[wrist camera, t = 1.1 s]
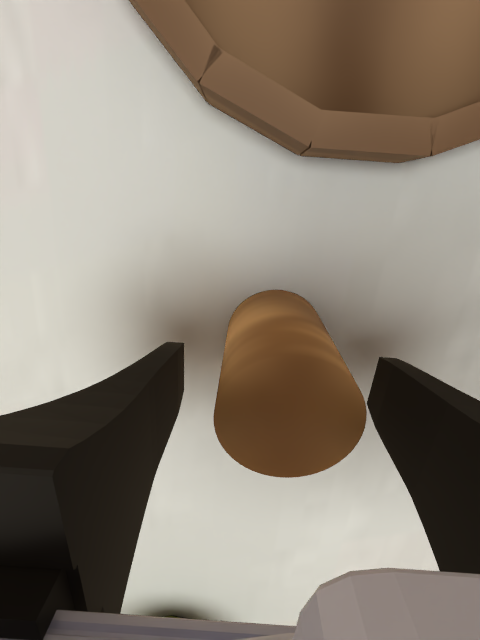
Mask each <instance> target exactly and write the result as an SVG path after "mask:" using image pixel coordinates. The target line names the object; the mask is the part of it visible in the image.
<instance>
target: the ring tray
mask: <svg viewBox="0 0 480 640" xmlns="http://www.w3.org/2000/svg"><path fill="white" fill-rule="evenodd" d="M129 1H130V2H131V4H132V5H133V6H134V8H135V9H136V10H137V12H138V13H139V14H140V16H141V17H142V18H143V19H144V21H145V22H146V23H147V25H148V26H149V27H150V29H151V30H152V31H153V32H154V34H155V35H156V36H157V38H158V39H159V40H160V42H161V43H162V44H163V45H164V47H165V48H166V49H167V51H168V52H169V53H170V55H171V56H172V57H173V59H174V60H175V61H176V62H177V64H178V65H179V66H180V68H181V69H182V70H183V72H184V73H185V74H186V75H187V77H188V78H189V79H190V81H191V82H192V83H193V85H194V86H195V87H196V88H197V90H198V91H199V92H200V94H201V95H202V96H203V98H204V99H205V100H206V102H208V103H209V104H210V105H212V106H213V107H215V108H217V109H219V110H220V111H222V112H224V113H226V114H227V115H229V116H231V117H233V118H234V119H236V120H238V121H240V122H241V123H243V124H245V125H247V126H248V127H250V128H252V129H254V130H255V131H257V132H259V133H260V134H262V135H264V136H266V137H267V138H269V139H271V140H273V141H274V142H276V143H278V144H280V145H281V146H283V147H285V148H287V149H288V150H290V151H292V152H294V153H295V154H297V155H299V154H300V156H310V157H324V158H338V159H352V160H365V161H379V162H393V163H401V162H405V161H410V160H415V159H420V158H425V157H429V156H433V155H436V154H439V153H442V152H445V151H448V150H451V149H453V148H456V147H459V146H462V145H465V144H468V143H471V142H473V141H476V140H479V139H480V0H129Z"/></svg>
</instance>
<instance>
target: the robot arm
mask: <svg viewBox="0 0 480 640" xmlns="http://www.w3.org/2000/svg"><path fill="white" fill-rule="evenodd" d="M183 392H184V343H174V342H166V343H165V344H163V345H161V346H160V347H158V348H157V349H155V350H154V351H152V352H151V353H149V354H148V355H146V356H145V357H143V358H141V359H140V360H138V361H137V362H135V363H134V364H132V365H130V366H128V367H127V368H125V369H123V370H121V371H120V372H118V373H116V374H114V375H113V376H111V377H109V378H107V379H105V380H103V381H101V382H99V383H96V384H94V385H92V386H90V387H88V388H85V389H83V390H80V391H78V392H75V393H72V394H70V395H67V396H64V397H62V398H59V399H56V400H53V401H51V402H48V403H44V404H41V405H38V406H35V407H31V408H28V409H24V410H20V411H17V412H13V413H9V414H5V415H1V416H0V640H480V401H479V400H477V399H475V398H473V397H471V396H469V395H467V394H465V393H463V392H461V391H459V390H457V389H455V388H453V387H452V386H450V385H448V384H446V383H444V382H442V381H440V380H438V379H437V378H435V377H433V376H431V375H429V374H427V373H426V372H424V371H422V370H420V369H418V368H416V367H414V366H412V365H410V364H408V363H406V362H404V361H402V360H399V359H396V358H383V357H379V361H378V364H377V368H376V372H375V375H374V379H373V383H372V386H371V390H370V394H369V397H368V401H367V405H368V408H369V411H370V414H371V417H372V420H373V422H374V425H375V428H376V430H377V432H378V434H379V436H380V438H381V439H382V441H383V443H384V445H385V447H386V449H387V451H388V453H389V455H390V457H391V458H392V460H393V462H394V464H395V466H396V468H397V470H398V472H399V474H400V475H401V477H402V479H403V481H404V483H405V485H406V487H407V489H408V491H409V493H410V495H411V497H412V500H413V502H414V505H415V507H416V510H417V512H418V514H419V517H420V519H421V522H422V524H423V527H424V529H425V532H426V535H427V537H428V540H429V543H430V545H431V548H432V551H433V553H434V556H435V559H436V561H437V564H438V567H439V570H440V571H426V570H412V569H397V568H381V569H370V570H359V571H350V572H348V573H345V574H343V575H341V576H339V577H337V578H334V579H332V580H330V581H328V582H326V583H323V584H321V585H320V586H319V587H318V589H317V590H316V591H315V593H314V594H313V595H312V596H311V598H310V599H309V600H308V602H307V603H306V604H305V606H304V607H303V609H302V610H301V612H300V614H299V618H298V622H297V626H284V625H270V624H256V623H241V622H227V621H212V620H198V619H184V618H169V617H155V616H141V615H126V614H120V612H121V607H122V603H123V599H124V594H125V590H126V586H127V581H128V577H129V573H130V569H131V565H132V561H133V557H134V553H135V549H136V544H137V540H138V537H139V533H140V529H141V525H142V521H143V517H144V513H145V509H146V506H147V502H148V498H149V495H150V491H151V487H152V484H153V480H154V477H155V474H156V471H157V468H158V465H159V463H160V460H161V458H162V455H163V452H164V450H165V447H166V445H167V442H168V439H169V437H170V434H171V432H172V429H173V426H174V424H175V421H176V419H177V416H178V413H179V409H180V405H181V401H182V396H183Z"/></svg>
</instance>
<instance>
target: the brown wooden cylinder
mask: <svg viewBox="0 0 480 640" xmlns="http://www.w3.org/2000/svg"><path fill="white" fill-rule="evenodd" d="M365 424H366V405H365V401H364V398H363V395H362V393H361V391H360V389H359V387H358V386H357V384H356V382H355V380H354V378H353V377H352V375H351V373H350V371H349V370H348V368H347V366H346V364H345V362H344V361H343V359H342V357H341V355H340V353H339V352H338V350H337V348H336V346H335V344H334V343H333V341H332V339H331V337H330V336H329V334H328V332H327V330H326V328H325V327H324V325H323V323H322V321H321V319H320V318H319V316H318V314H317V312H316V311H315V309H314V308H313V306H312V305H311V304H310V303H309V302H308V301H306V300H305V299H304V298H302V297H301V296H299V295H297V294H295V293H292V292H289V291H284V290H268V291H263V292H260V293H257V294H254V295H252V296H251V297H249V298H247V299H246V300H245V301H243V302H242V303H241V304H240V305H239V306H238V307H237V309H236V310H235V311H234V313H233V315H232V317H231V319H230V322H229V326H228V332H227V338H226V344H225V350H224V356H223V362H222V368H221V374H220V380H219V386H218V392H217V398H216V404H215V410H214V427H215V432H216V435H217V437H218V440H219V442H220V443H221V445H222V447H223V448H224V449H225V451H226V452H227V453H228V454H229V455H230V456H231V457H232V458H233V459H234V460H235V461H237V462H238V463H239V464H241V465H243V466H244V467H246V468H248V469H250V470H252V471H255V472H258V473H261V474H264V475H269V476H275V477H301V476H307V475H311V474H315V473H318V472H320V471H323V470H325V469H327V468H330V467H332V466H333V465H335V464H337V463H338V462H340V461H341V460H342V459H343V458H345V457H346V456H347V455H348V454H349V453H350V452H351V451H352V450H353V449H354V447H355V446H356V445H357V443H358V442H359V440H360V438H361V436H362V434H363V431H364V428H365Z"/></svg>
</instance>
